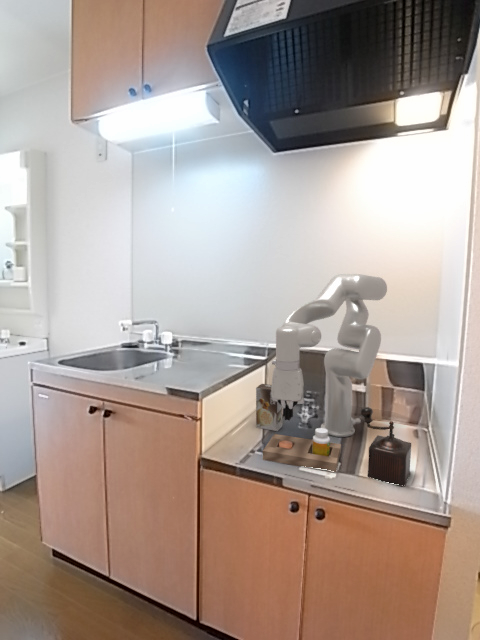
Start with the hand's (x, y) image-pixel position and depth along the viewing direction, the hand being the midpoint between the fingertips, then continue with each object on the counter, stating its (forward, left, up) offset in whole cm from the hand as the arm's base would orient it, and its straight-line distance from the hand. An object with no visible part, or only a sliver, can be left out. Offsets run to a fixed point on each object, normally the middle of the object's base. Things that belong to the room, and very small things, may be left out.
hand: (288, 418), depth 126 cm
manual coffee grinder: (-19, +22, -12) cm, 32 cm away
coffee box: (-5, -22, -12) cm, 25 cm away
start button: (+1, 0, -11) cm, 12 cm away
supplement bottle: (-7, +8, -12) cm, 16 cm away
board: (-3, +4, -12) cm, 13 cm away
